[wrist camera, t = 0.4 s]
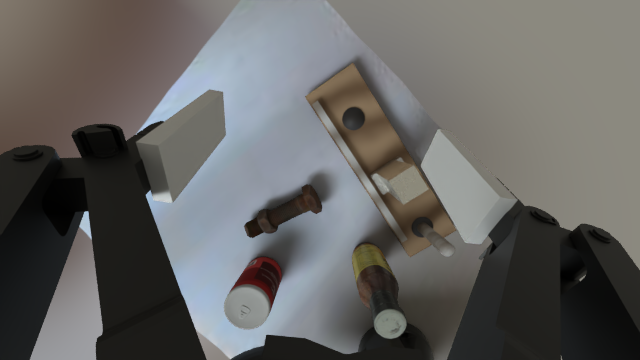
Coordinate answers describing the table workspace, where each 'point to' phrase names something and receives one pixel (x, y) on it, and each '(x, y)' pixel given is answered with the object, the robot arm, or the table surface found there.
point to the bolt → (284, 213)
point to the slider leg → (399, 180)
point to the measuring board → (378, 159)
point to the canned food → (253, 294)
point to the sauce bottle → (378, 290)
